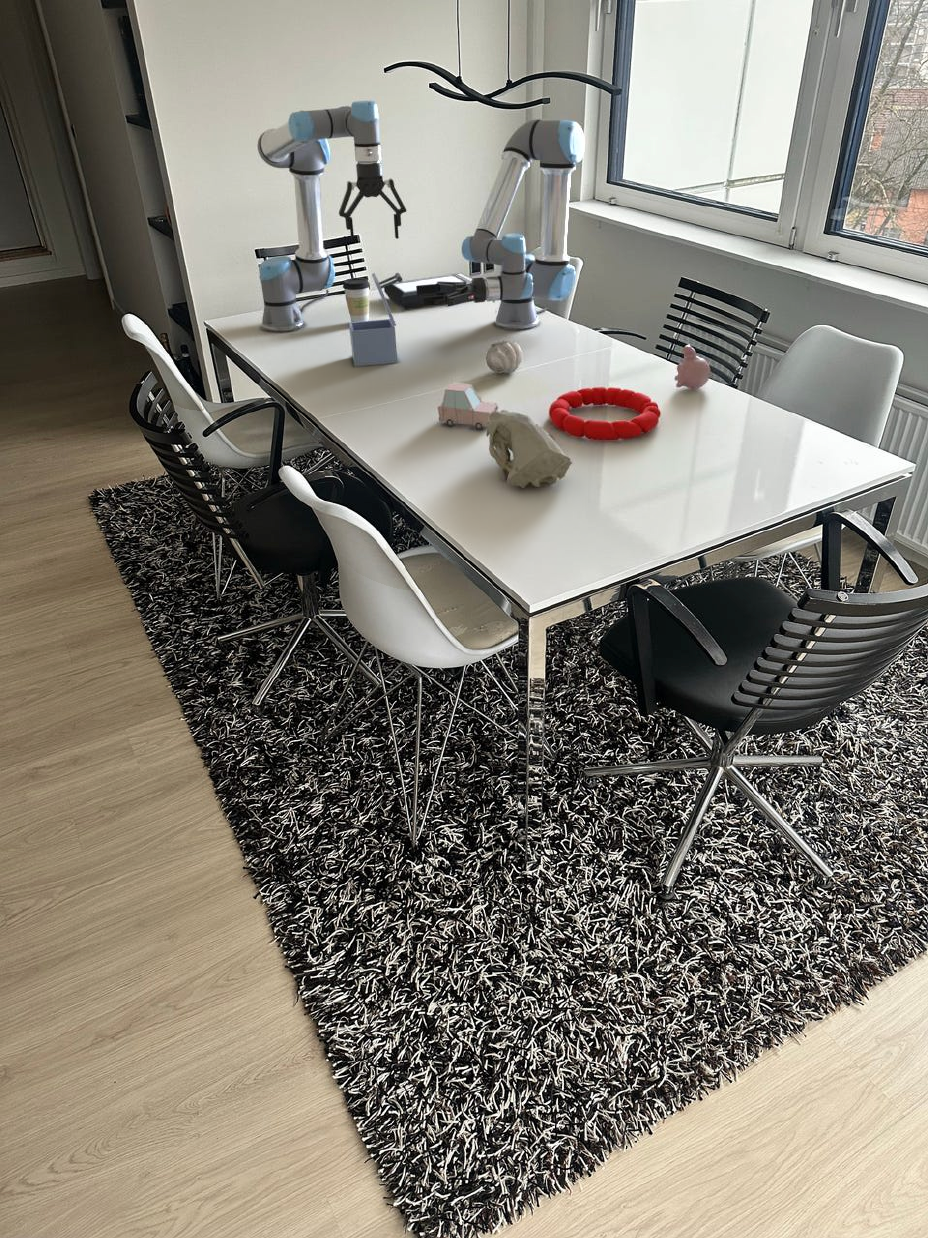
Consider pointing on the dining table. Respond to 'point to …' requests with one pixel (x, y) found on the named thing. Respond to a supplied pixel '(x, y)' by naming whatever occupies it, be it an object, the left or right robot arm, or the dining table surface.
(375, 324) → the chest
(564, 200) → the right robot arm
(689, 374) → the figurine
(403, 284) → the electronic device
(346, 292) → the coffee cup
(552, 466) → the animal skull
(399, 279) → the lid
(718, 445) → the dining table surface
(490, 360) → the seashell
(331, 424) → the dining table surface
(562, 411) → the decorative ring
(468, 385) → the toy car
